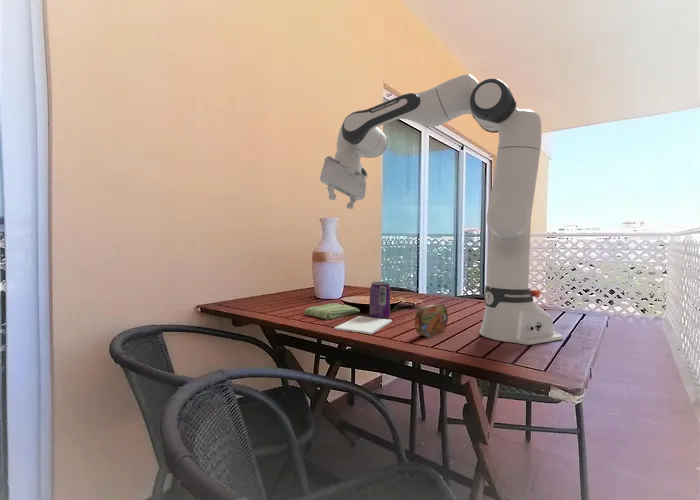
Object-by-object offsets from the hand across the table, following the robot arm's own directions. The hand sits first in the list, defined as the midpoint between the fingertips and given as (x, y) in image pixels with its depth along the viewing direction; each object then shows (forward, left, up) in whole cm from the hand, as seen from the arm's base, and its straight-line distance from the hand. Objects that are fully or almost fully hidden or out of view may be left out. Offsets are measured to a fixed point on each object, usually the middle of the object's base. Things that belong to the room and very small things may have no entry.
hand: (341, 204), depth 128 cm
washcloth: (+1, -6, -40) cm, 40 cm away
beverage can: (-14, +3, -39) cm, 42 cm away
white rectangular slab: (-5, +13, -39) cm, 41 cm away
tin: (-22, +26, -39) cm, 52 cm away
